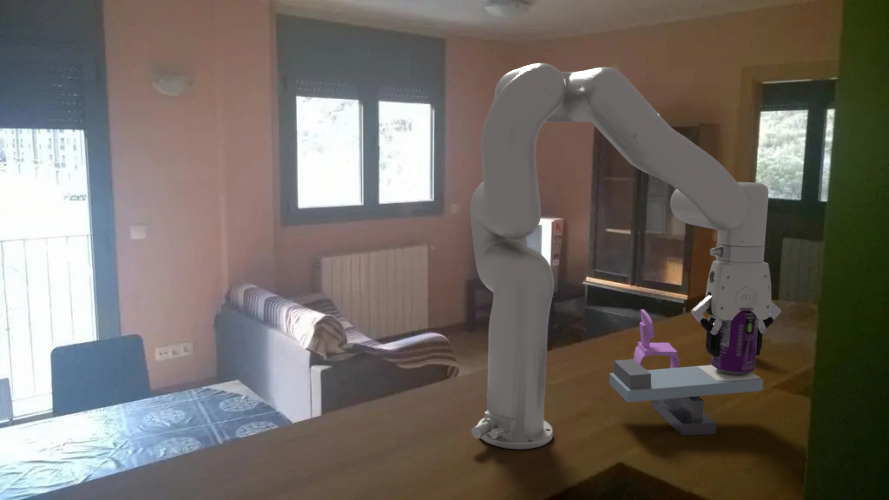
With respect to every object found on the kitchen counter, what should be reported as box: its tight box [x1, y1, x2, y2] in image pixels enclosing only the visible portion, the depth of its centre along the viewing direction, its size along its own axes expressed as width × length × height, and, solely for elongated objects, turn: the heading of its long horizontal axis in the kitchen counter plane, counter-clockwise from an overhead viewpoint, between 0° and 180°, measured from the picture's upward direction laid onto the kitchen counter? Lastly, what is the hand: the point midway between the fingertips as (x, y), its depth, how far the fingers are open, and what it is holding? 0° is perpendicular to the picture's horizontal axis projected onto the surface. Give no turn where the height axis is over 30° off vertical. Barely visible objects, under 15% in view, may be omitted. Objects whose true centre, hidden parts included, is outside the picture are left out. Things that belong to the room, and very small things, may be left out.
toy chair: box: [633, 308, 680, 368], centre depth 142 cm, size 8×9×15 cm
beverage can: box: [710, 308, 759, 375], centre depth 122 cm, size 7×7×12 cm
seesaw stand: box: [650, 396, 717, 436], centre depth 123 cm, size 6×13×6 cm, turn 6°
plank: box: [608, 358, 764, 403], centre depth 122 cm, size 24×9×4 cm, turn 96°
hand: (733, 353), depth 122 cm, fingers closed on beverage can, 6 cm apart
